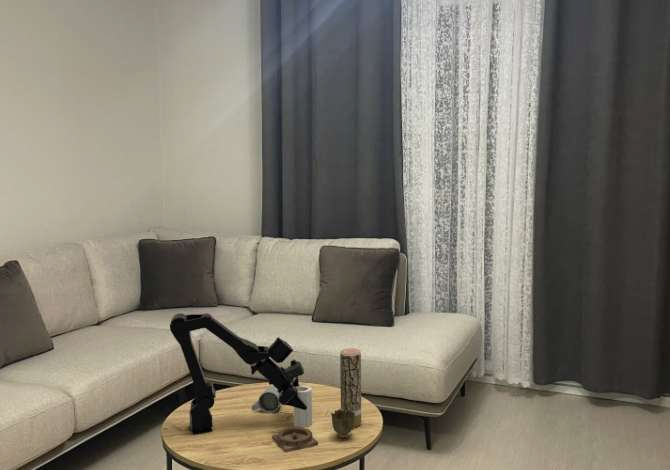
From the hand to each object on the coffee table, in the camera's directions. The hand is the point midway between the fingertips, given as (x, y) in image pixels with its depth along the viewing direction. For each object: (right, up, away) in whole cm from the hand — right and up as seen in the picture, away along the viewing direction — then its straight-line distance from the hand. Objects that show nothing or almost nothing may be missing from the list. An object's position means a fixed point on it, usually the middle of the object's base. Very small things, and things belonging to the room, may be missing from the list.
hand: (306, 403), depth 226 cm
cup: (+12, -8, -10) cm, 18 cm away
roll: (-1, -7, +1) cm, 7 cm away
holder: (-3, -9, -13) cm, 16 cm away
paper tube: (+15, -7, 0) cm, 16 cm away
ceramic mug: (-14, -6, +14) cm, 21 cm away
